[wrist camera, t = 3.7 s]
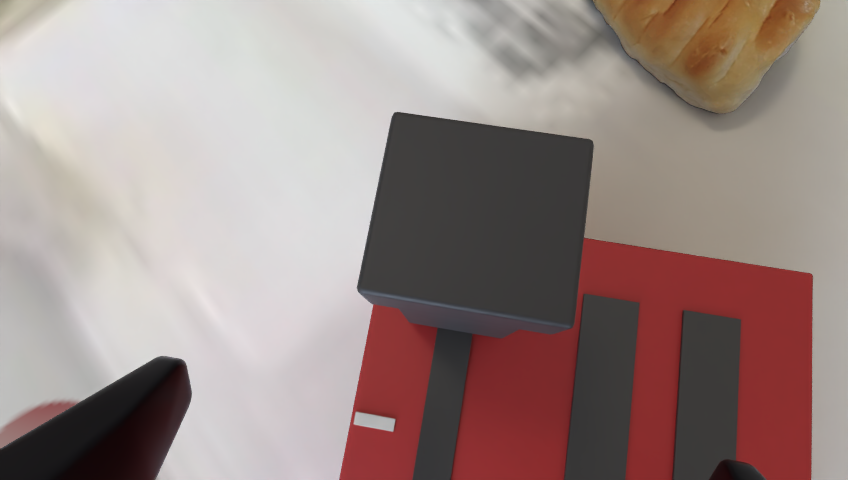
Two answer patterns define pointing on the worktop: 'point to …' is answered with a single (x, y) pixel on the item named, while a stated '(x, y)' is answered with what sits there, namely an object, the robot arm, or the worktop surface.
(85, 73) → the worktop surface
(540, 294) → the slider
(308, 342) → the worktop surface
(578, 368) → the toaster
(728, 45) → the pastry
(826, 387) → the worktop surface
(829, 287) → the worktop surface
